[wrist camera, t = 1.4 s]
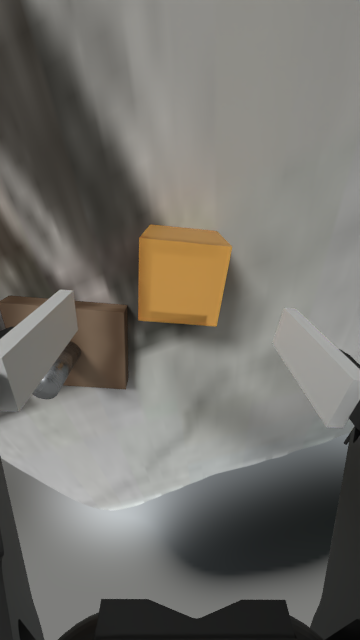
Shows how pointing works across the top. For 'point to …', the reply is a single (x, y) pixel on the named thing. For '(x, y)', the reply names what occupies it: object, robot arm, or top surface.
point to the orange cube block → (182, 275)
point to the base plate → (86, 340)
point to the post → (58, 372)
